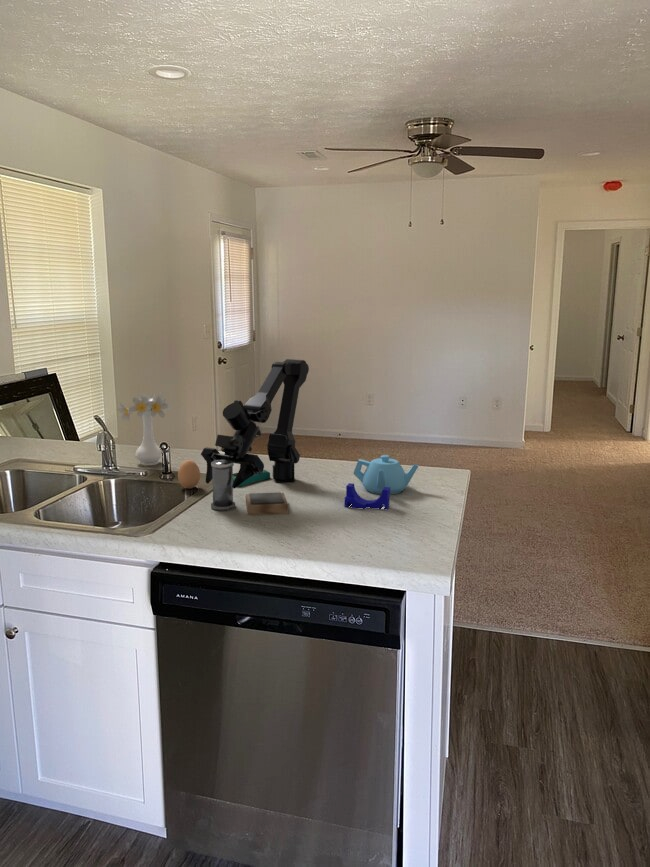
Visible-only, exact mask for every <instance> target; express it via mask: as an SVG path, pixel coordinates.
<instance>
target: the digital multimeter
mask: <svg viewBox="0 0 650 867" xmlns="http://www.w3.org/2000/svg"><path fill="white" fill-rule="evenodd" d="M237 474H238V472H235V473H234V472H233V482H234V480H235V478H236V476H237ZM270 478H271V472H270V471H268V470H266V469H263V471H262V473H257V475H253V476H251V477H250V478H248V479H247V480H245V481H244V482H243V483H241V484H240V485H239V486H238V487H237V488H239V487H243V486H246V485H250V484H253V483H256V482H260V481H265V480H269V479H270Z"/></svg>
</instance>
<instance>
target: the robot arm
mask: <svg viewBox="0 0 650 867" xmlns="http://www.w3.org/2000/svg"><path fill="white" fill-rule="evenodd" d="M309 370H310V368H309V365H308V363H307V362H306V360H304V359H294V358H293V359H290V358H287V359H285V360H284V361H274V362H273V363H272V364H271V369H270V371H269V373H268V374H267V376H266V378H265V380H264V381H263V383H262V384H261V386H260V388H259V390H258V392H257V393H256V394H255V395H253V396H251V397H249V399H247V401H246V402H245V404H244V405H243V402H242V401H241V400H238V399H237V400H236V399H235V400H234V401H233V402H232V403H230V404H228V405H227V406H226V407H224V409H223V410H222V417H223V418H224V420H225V421H226V422H227V423H228V425H229V426H230V427H231V429H232V430H235V432H234V434H233V435H224V434H217V436H216V440H215V443H214V446H215V447H219V448H221V449H220V450H221V452H223V453H224V454H222V453H220V452H219V451H218V449H217V448H215V447H214V448H213V447H208V446H207V447H203V449H202V450H201V453H200V455H201V457H202V458H203V460H204V461H206V473H205V483H206V484H209V483H210V482H211V481H213V477H212V466H211V462H212V461H216V460H231V461H233V462H234V464H237V465H239V469H238V472H237V473H238V474H237V476H236V478H235V480H234V482H233V485H232V487H233V490H234V489H236V488H239V487H238V486H239V485H240V484H241V483H243V482H244V481H245V480H247V479H248V478H250V477H251V476H253V475H257V473H262V471H263V469H264V468H265V464H264V462H263V461H262V459H261V458H260V457H259V455H258V454H252V453H251V452H252V450H253V448H252V444H253V442H254V440H255V438H256V436H258V437H259V436H260V437H261V434H262V433H261V432H262V431H261V430H260V426H258V425H257V424H256V423H259V424H264V423H266V422H267V421H268V420H269V418H270V415H271V414H272V413H271V412H272V405H271V404H272V402H273V401H274V398H275V396H276V395H277V393H278V391H279V389H280V387H281V386H282V384H283V391H282V397H281V402H280V406H279V414H278V420H277V425H276V426H277V427H276V429H275V431H274V432H273V433H270V434H269V435H268V442H267V445H266V446H267V448H266V449H267V451H266V452H267V455H268V459H269V461H270V462H274V463H273V465H272V478H273V480H274V482H275V483H290V482H291V483H293V482H296V479H295V464H298V463H299V461H300V458H301V454H300V453H299V451H298V449H297V448H296V438H295V436H294V435H293V427H294V421H295V415H296V412H297V411H296V410H297V403H298V400H299V398H298V397H299V391H300V388H301V387H302V386H303V385H304V383H305V382H306V381H307V376H308V373H309ZM249 452H250V453H249ZM264 470H265V469H264Z"/></svg>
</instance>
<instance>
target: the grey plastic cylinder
mask: <svg viewBox="0 0 650 867" xmlns="http://www.w3.org/2000/svg"><path fill="white" fill-rule="evenodd" d="M234 464H235V463H234V462H233V461H231V460H216V461H212V462H211V466H212V477H213V479H212V502H211V503H210V509H211V510H212V511H215V512H229V511H232V510H235V508H236V502H235V501H234V488H233V487H232V485H233V474H234V469H233V467H234V466H235V465H234Z"/></svg>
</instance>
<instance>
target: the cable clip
mask: <svg viewBox="0 0 650 867" xmlns="http://www.w3.org/2000/svg"><path fill="white" fill-rule="evenodd" d="M345 489H346V491H345V497H344V508H348V507H349V506H350V505H351V504H352V505H351V506H350V507H352V508H351V509H357V508H363V509H362V510H366V509H367V508H366V507H370V508H369V509H372V508H379V509H378V510H381V508H382V507H383V506H385V508H384V509H387V510H388V509H389V508H390V499H391V498H390V497H391V496H390V495H391V494H390V487H384V488H383V490H382V494H380V496H379V497H378V498H376V499H373V500H372V499H371V500H370V499H366V498H363V497H361V496H360V495H359V493H358V492H357V490H356V488H355V483H350V482H349V483H348V484H346V488H345ZM388 507H389V508H388ZM365 508H366V509H365Z"/></svg>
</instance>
